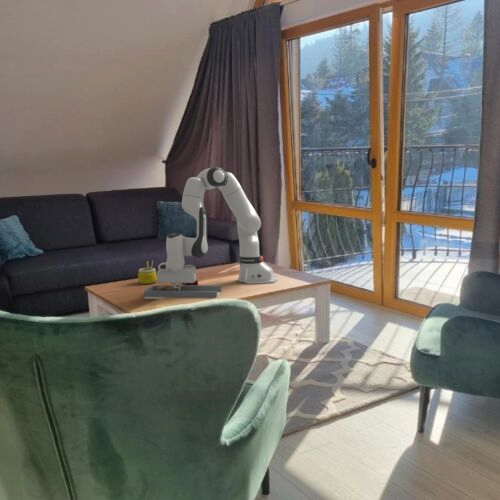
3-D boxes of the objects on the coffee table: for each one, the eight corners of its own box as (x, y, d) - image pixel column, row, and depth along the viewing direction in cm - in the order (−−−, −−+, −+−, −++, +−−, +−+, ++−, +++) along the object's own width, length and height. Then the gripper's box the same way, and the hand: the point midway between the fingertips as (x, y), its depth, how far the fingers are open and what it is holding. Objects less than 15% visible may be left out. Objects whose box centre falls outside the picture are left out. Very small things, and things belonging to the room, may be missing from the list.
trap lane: (221, 293, 301) (221, 285, 300) (216, 299, 289) (216, 291, 288) (152, 292, 306) (151, 285, 306) (144, 298, 294) (144, 291, 294)
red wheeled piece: (192, 282, 325) (191, 264, 323) (199, 287, 314) (198, 269, 312) (180, 284, 322) (179, 266, 321) (187, 289, 311) (186, 270, 309)
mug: (148, 285, 322) (147, 264, 320) (134, 283, 328) (132, 263, 325) (163, 280, 332) (162, 260, 330) (149, 279, 338) (148, 259, 336)
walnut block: (175, 292, 301) (175, 285, 300) (172, 295, 295) (172, 288, 294) (161, 292, 302) (160, 285, 301) (157, 295, 296) (157, 287, 295)
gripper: (197, 263, 296) (198, 289, 299) (158, 263, 299) (160, 289, 302) (194, 266, 290) (195, 292, 293) (155, 265, 293) (156, 292, 296)
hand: (177, 290), depth 297 cm, fingers closed
